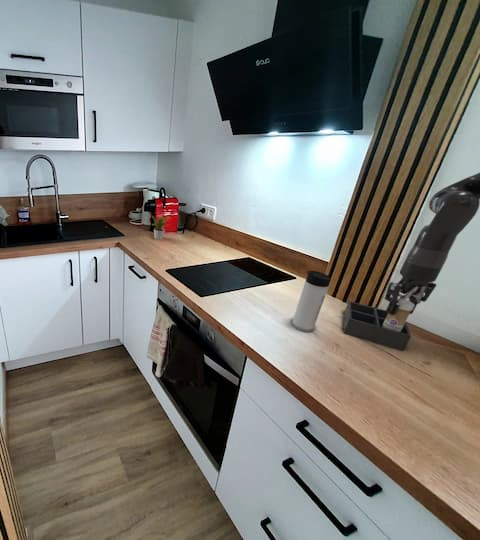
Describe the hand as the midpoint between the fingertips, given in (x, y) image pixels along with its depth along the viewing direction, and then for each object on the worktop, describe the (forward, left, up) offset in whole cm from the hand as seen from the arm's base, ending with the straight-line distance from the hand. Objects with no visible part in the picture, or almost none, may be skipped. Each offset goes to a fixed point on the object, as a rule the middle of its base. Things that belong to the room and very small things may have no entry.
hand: (398, 313), depth 87 cm
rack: (+4, -4, -10) cm, 11 cm away
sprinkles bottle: (0, 0, -10) cm, 10 cm away
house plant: (+107, -48, -10) cm, 118 cm away
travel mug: (+22, +8, -10) cm, 26 cm away
